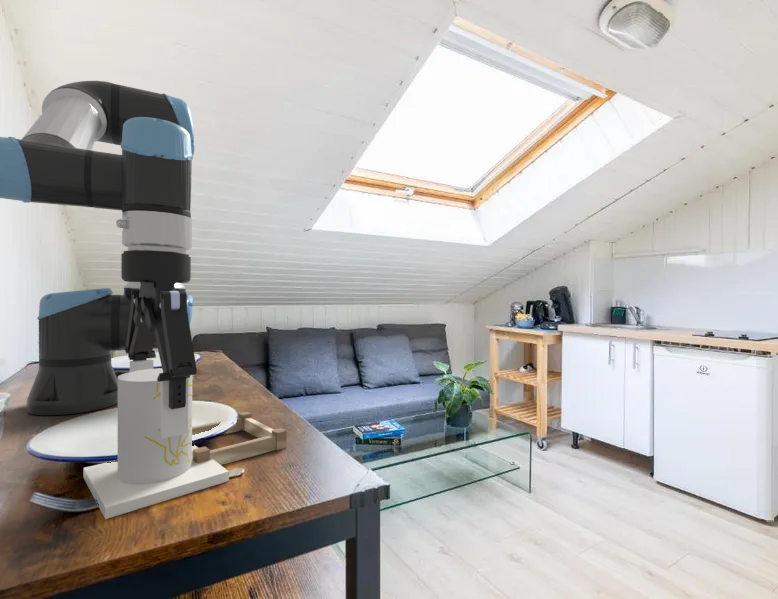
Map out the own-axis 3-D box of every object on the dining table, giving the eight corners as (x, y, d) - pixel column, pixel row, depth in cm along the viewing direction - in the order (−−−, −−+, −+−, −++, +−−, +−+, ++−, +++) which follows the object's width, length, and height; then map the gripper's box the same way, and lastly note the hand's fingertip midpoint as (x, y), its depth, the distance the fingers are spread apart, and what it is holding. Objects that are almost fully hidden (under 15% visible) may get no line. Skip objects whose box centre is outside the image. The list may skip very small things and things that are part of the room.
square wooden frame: (165, 444, 64) (165, 427, 64) (247, 426, 73) (247, 411, 73) (197, 472, 54) (197, 453, 54) (286, 447, 64) (286, 430, 64)
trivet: (83, 477, 53) (83, 467, 53) (191, 450, 62) (191, 442, 62) (105, 519, 43) (105, 507, 43) (228, 480, 52) (228, 471, 52)
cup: (160, 487, 48) (160, 383, 47) (100, 480, 49) (100, 379, 49) (205, 459, 56) (205, 369, 55) (152, 453, 57) (152, 366, 57)
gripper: (100, 252, 58) (100, 403, 59) (153, 242, 40) (152, 459, 41) (159, 255, 63) (158, 394, 64) (229, 248, 45) (227, 441, 46)
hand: (156, 420), depth 53 cm, fingers open, 13 cm apart
